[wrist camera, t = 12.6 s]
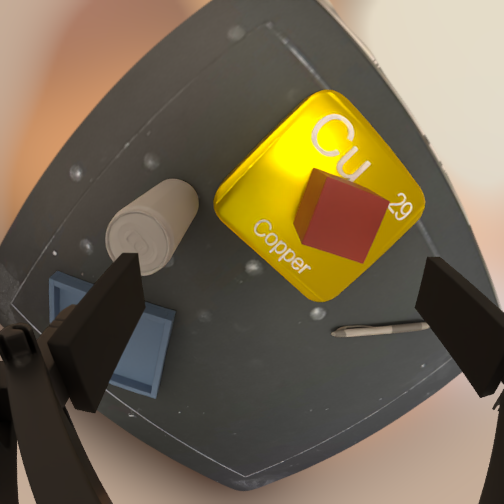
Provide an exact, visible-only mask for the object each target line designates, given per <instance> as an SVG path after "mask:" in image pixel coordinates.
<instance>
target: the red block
mask: <svg viewBox="0 0 504 504" xmlns="http://www.w3.org/2000/svg"><path fill="white" fill-rule="evenodd" d="M389 203H390V201H388V200H387V199H385V198H383V197H382V196H380V195H378V194H377V193H375V192H373V191H371V190H370V189H368V188H366V187H363V186H361V185H358V184H356V183H353V182H351V181H348V180H346V179H343V178H341V177H338V176H336V175H333V174H330V173H328V172H325V171H322V170H320V169H317V168H313V170H312V173H311V176H310V178H309V181H308V184H307V187H306V189H305V192H304V195H303V198H302V200H301V203H300V206H299V209H298V211H297V214H296V217H295V219H294V222H293V225H294V227H295V229H296V232H297V234H298V237H299V239H300V241H301V244H303V245H306V246H309V247H312V248H315V249H318V250H321V251H325V252H328V253H331V254H334V255H337V256H340V257H343V258H346V259H349V260H353V261H356V262H359V263H362V264H363V263H364V261H365V259H366V257H367V255H368V252H369V250H370V248H371V246H372V243H373V241H374V239H375V236H376V234H377V232H378V230H379V227H380V225H381V222H382V220H383V218H384V215H385V213H386V210H387V208H388V205H389Z"/></svg>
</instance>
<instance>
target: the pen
mask: <svg viewBox="0 0 504 504" xmlns="http://www.w3.org/2000/svg"><path fill="white" fill-rule="evenodd" d="M353 327H369V328H355V329H350V328H353ZM427 328H430V327H429V325H428V324H427V323H426V322H421V323H420V322H419V323H409V324H399V325H389V326H381V327H372V326H363V325H356V326H344V327H340V328H338V329H337V330H336V331H334V332H332V333H331V335H332V336H335V337H352V336H365V335H377V334H391V333H401V332H410V331H418V330H423V329H427Z"/></svg>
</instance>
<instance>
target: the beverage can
mask: <svg viewBox="0 0 504 504" xmlns="http://www.w3.org/2000/svg"><path fill="white" fill-rule="evenodd" d="M198 207H199V199H198V196H197V193H196V191H195V190H194V188H193V187H192V186H190V185H189V184H188V183H186V182H184V181H182V180H178V179H167V180H164V181H162V182H161V183H159V184H158V185H156V186H155V187H153V188H152V189H150V190H149V191H147V192H146V193H144V194H143V195H142V196H140V197H139V198H137V199H136V200H134V201H133V202H131V203H130V204H129V205H127V206H126V207H124V208H123V209H122V210H120V211H119V212H117V213H116V215H115V216H114V217H113V219H112V220H111V222H110V223H109V225H108V228H107V230H106V237H105V242H106V249H107V251H108V254H109V256H110V258H111V259H112V261H113V262H114V261H115V260H116V259H117V258H118V257H119V256H120V255H121V253H138V255H139V263H140V271H141V276H146V275H150V274H153V273H155V272H157V271H159V270H160V269H161V268H163V267H164V266H165V265H166V264H167V263H168V262H169V260H170V258H171V257H172V255H173V253H174V251H175V250H176V248H177V246H178V244H179V243H180V241H181V239H182V237H183V236H184V234H185V232H186V231H187V229H188V227H189V226H190V224H191V222H192V220H193V219H194V217H195V215H196V213H197V211H198Z"/></svg>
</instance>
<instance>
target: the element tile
mask: <svg viewBox="0 0 504 504" xmlns="http://www.w3.org/2000/svg"><path fill="white" fill-rule="evenodd" d="M313 168H317V169H320V170H322V171H325V172H328V173H330V174H333V175H336V176H338V177H341V178H343V179H346V180H348V181H351V182H353V183H356V184H358V185H361V186H363V187H366V188H368V189H370V190H371V191H373V192H375V193H377V194H378V195H380V196H382V197H383V198H385V199H387V200H388V201H390V203H389V205H388V208H387V210H386V213H385V215H384V218H383V220H382V222H381V225H380V227H379V230H378V232H377V234H376V236H375V239H374V241H373V243H372V246H371V248H370V250H369V252H368V255H367V257H366V259H365V261H364V263H363V264H362V263H359V262H356V261H353V260H349V259H346V258H343V257H340V256H337V255H334V254H331V253H328V252H325V251H321V250H318V249H315V248H312V247H309V246H306V245H303V244H301V241H300V239H299V237H298V234H297V232H296V229H295V227H294V225H293V222H294V219H295V217H296V214H297V211H298V209H299V206H300V203H301V200H302V198H303V195H304V192H305V189H306V187H307V184H308V181H309V178H310V176H311V173H312V170H313ZM213 205H214V210H215V212H216V214H217V216H218V217H219V219H220V220H221V221H222V222H223V223H224V224H225V225H226V226H227V227H229V228H230V229H231V230H232V231H233V232H234V233H235V234H236V235H237V236H239V237H240V238H241V239H242V240H243V241H244V242H245V243H246V244H248V245H249V246H250V247H251V248H252V249H253V250H254V251H255V252H256V253H258V254H259V255H260V256H261V257H262V258H263V259H264V260H265V261H267V262H268V263H269V264H270V265H271V266H272V267H273V268H274V269H275V270H277V271H278V272H279V273H280V274H281V275H282V276H283V277H284V278H285V279H287V280H288V281H289V282H290V283H291V284H292V285H293V286H294V287H296V288H297V289H298V290H299V291H300V292H301V293H302V294H303V295H304V296H306V297H307V298H308V299H310V300H312V301H315V302H326V301H329V300H331V299H333V298H335V297H336V296H338V295H339V294H340V293H341V292H342V291H343V290H344V289H345V288H347V287H348V286H349V285H350V284H351V283H352V282H353V281H354V280H356V279H357V278H358V277H359V276H360V275H361V274H362V273H363V272H364V271H366V270H367V269H368V268H369V267H370V266H371V265H372V264H373V263H374V262H375V261H376V260H377V259H379V258H380V257H381V256H382V255H383V254H384V253H385V252H386V251H387V250H388V249H389V248H390V247H391V246H392V245H393V244H394V243H395V242H396V241H397V240H399V239H400V238H401V237H402V236H403V235H404V234H405V233H406V232H407V231H408V230H409V229H410V228H411V227H412V226H413V225H414V224H415V223H416V222H417V221H418V220H419V218H420V217H421V215H422V213H423V211H424V209H425V198H424V194H423V192H422V190H421V188H420V187H419V186H418V184H417V183H416V181H415V180H414V179H413V177H412V176H411V175H410V173H409V172H408V171H407V169H406V168H405V167H404V165H403V164H402V163H401V161H400V160H399V159H398V158H397V156H396V155H395V154H394V152H393V151H392V150H391V149H390V147H389V146H388V145H387V144H386V143H385V141H384V140H383V139H382V138H381V136H380V135H379V134H378V133H377V132H376V131H375V129H374V128H373V127H372V126H371V125H370V124H369V122H368V121H367V120H366V119H365V118H364V117H363V116H362V114H361V113H360V112H359V111H358V110H357V109H356V108H355V107H354V106H353V104H352V103H351V102H350V101H349V100H348V99H347V98H346V97H344V96H343V95H342V94H340V93H338V92H336V91H334V90H326V89H324V90H321V91H318V92H316V93H314V94H312V95H310V96H308V97H306V98H305V99H304V100H303V101H302V102H301V103H300V104H298V105H297V106H296V107H295V108H294V109H293V110H292V111H291V112H290V113H289V114H288V115H287V116H286V117H285V118H284V119H283V120H282V121H281V122H280V123H279V124H278V125H277V126H276V127H275V128H274V129H273V130H272V131H271V132H270V133H269V134H268V135H267V136H266V137H265V138H264V139H263V140H262V141H261V142H260V143H259V144H258V145H257V146H256V147H255V148H254V149H253V150H252V151H251V152H250V153H249V154H248V155H247V156H246V157H245V158H244V159H243V160H242V161H241V162H240V163H239V164H238V165H237V166H236V167H235V168H234V169H233V170H232V171H231V172H230V173H229V174H228V175H227V176H226V177H225V179H224V180H223V181H222V183H221V184H220V186H219V188H218V189H217V191H216V194H215V197H214V199H213Z"/></svg>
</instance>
